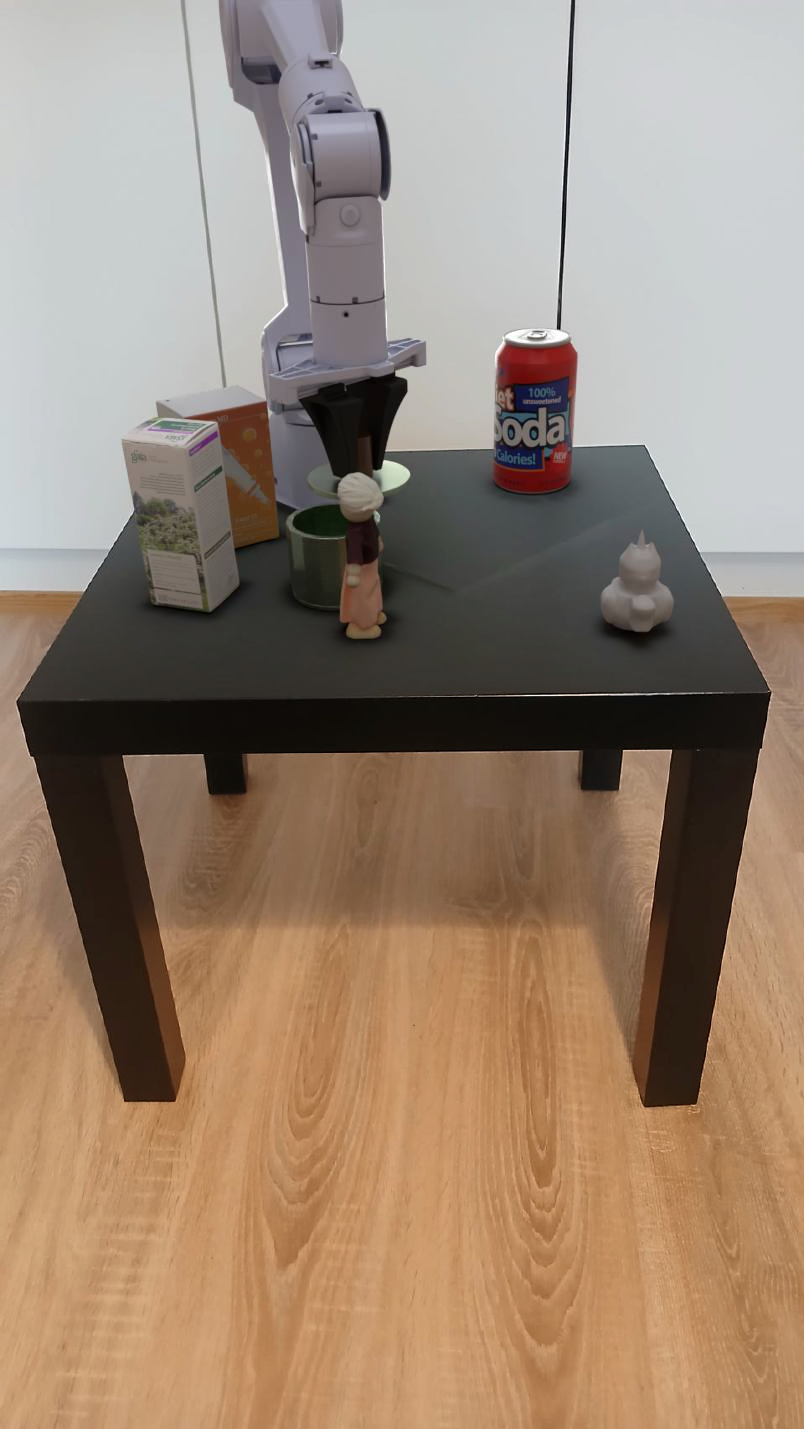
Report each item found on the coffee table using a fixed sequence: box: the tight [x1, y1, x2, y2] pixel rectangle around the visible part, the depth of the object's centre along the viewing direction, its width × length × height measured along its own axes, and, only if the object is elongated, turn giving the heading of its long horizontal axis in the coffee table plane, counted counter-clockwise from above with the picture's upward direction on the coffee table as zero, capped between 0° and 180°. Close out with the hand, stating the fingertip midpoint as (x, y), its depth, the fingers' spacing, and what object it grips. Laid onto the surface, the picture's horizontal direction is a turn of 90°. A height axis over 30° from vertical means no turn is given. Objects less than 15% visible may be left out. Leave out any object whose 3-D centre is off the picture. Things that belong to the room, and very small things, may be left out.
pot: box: [285, 502, 384, 612], centre depth 88 cm, size 8×8×6 cm
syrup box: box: [120, 416, 240, 613], centre depth 85 cm, size 6×6×14 cm
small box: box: [155, 384, 280, 549], centre depth 96 cm, size 8×6×13 cm
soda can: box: [492, 327, 579, 495], centre depth 104 cm, size 8×8×15 cm
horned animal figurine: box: [600, 529, 675, 633], centre depth 80 cm, size 5×7×8 cm
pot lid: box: [308, 429, 411, 500], centre depth 86 cm, size 8×8×5 cm
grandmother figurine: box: [338, 472, 387, 640], centre depth 80 cm, size 8×4×13 cm, turn 178°
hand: (357, 472), depth 86 cm, fingers closed on pot lid, 2 cm apart
